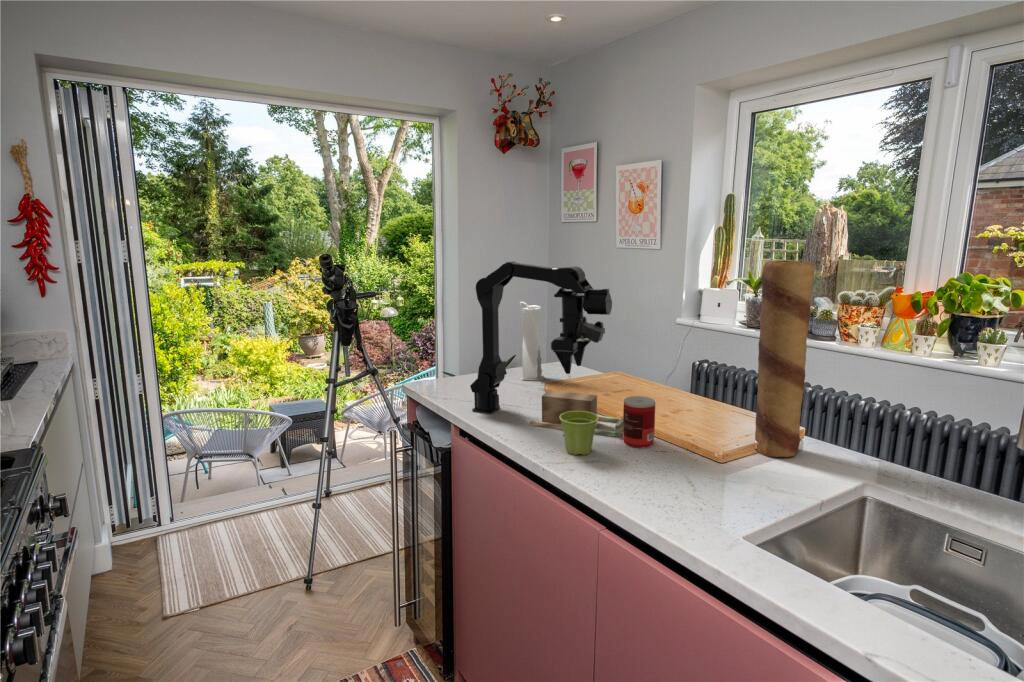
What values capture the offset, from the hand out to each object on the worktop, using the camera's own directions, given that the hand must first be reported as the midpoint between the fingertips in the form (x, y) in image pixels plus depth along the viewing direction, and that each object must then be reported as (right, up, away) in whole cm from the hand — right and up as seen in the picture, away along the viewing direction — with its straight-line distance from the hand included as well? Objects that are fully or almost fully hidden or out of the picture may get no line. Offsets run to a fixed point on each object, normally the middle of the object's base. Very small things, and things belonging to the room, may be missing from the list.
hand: (573, 369), depth 158 cm
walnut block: (-1, -15, +2) cm, 15 cm away
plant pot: (-1, -19, -19) cm, 27 cm away
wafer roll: (+46, -18, -21) cm, 54 cm away
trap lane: (+2, -15, 0) cm, 15 cm away
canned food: (+15, -18, -14) cm, 27 cm away
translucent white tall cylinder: (-10, -6, +51) cm, 52 cm away
